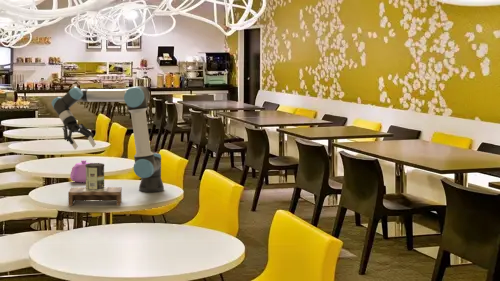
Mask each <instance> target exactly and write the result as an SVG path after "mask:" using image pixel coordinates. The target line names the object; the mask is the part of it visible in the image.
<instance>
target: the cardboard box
mask: <svg viewBox="0 0 500 281" xmlns="http://www.w3.org/2000/svg"><path fill="white" fill-rule="evenodd" d="M122 189H123V188H122V187H120V186H119V187H118V186H116V187H115V186H114V187H113V186H111V187H110V186H108V187H107V186H104V190H100V191H88V190H86V186H85V187H70V188H69V191H68V194H67V196H68V198H67V199H68V200H67V201H68V206H69V207H72V206H74V203H75V202H78V201H79V202H81V201H82V202H87V201H86V200H99V201H101V200H102V201H104V202H106V201H110V202H111V201H112V202H113V201H116V206H121V204H122V199H123V198H122V197H123V196H122V193H123V192H122ZM84 200H85V201H84ZM99 201H98V202H99ZM102 201H101V202H102Z"/></svg>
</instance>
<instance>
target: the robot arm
mask: <svg viewBox="0 0 500 281" xmlns="http://www.w3.org/2000/svg"><path fill="white" fill-rule="evenodd" d="M150 98H151V94H150V91H149V89H148V88H147V87H145V86H143V85H139V86H138V85H137V86H131V87H130V86H129V87H128V88H113V89H112V88H111V89H109V88H105V89H104V88H102V89H101V88H99V89H94V88H93V89H90V88H88V89H84V88H81V89H80V88H79V87H77V86H74V87H72V88H71V89H70V90H69V91H67V93H65V94H64V95H63V96H57V97H55V98H53V99H52V100H51V106H52V107H53V110H54V111H55V113H56V114H57V116H58V117H59V119H60V121H61V122H62V124H63V126H62V130H63V131H62V132H63V138H64V139H63V140H64V141H66V142H69V144H70V145H71V146H72V147H73V149H74V150H77V148H78V144H77V142H76V141H75V139H74V137H72V136H73V133H78V134H82V136H85V137H87V140H88V141H89V143H90V145H91V146H92V148H95V147H96V145H97V144H96V141H95V140H94V138H93V136H94V133H93V132H92V131H91V130H89V129H88V128H87V127H86V126H85V125H84V124H83V123H81V124H78V120H77V119H76V116H74V114H73V113H72V111H71V109H70V108H71V107H72V106H74V105H75V104H76V103H80V102H83V103H85V102H86V103H87V102H88V103H90V102H96V103H97V102H98V103H99V102H103V103H104V102H113V103H115V102H124V103H125V104H126V106H127V111H128V112H129V113H130V116H131V117H130V118H131V123H132V130H133V132H132V133H133V140H134V145H135V155H133V156H134V157H133V158H134V164H133V172H134V174H135V175H136V176H137V177H139V178H141V180H140V184H139V186H138V191H139V192H143V193H159V192H163V191H164V190H165V189H164V188H165V187H164V182H163V180H162V155H161V153H156V152H155V153H154V152H153V151H152V150H151V144H150V143H151V142H150V135H149V134H150V133H149V126H148V119H147V114H146V111H147V109H149V108H148V102H149V101H150V100H151V99H150Z"/></svg>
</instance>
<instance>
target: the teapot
mask: <svg viewBox="0 0 500 281" xmlns="http://www.w3.org/2000/svg"><path fill="white" fill-rule="evenodd" d="M90 163H91V162H87V160H85V159H83V160H82V159H81V161H80V162H76V163H75V164H74V165H73V166H72V168H71V171H70V175H69V176H70V179H71V180H72V181H73V182H74V183H82V182H83V183H82V184H86V166H85V165H86V164H90Z"/></svg>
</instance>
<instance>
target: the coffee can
mask: <svg viewBox="0 0 500 281" xmlns="http://www.w3.org/2000/svg"><path fill="white" fill-rule="evenodd" d="M89 163H90V164H86V165H85V166H86V183H85V187H86V190H88V191H100V190H104V187H105V163H100V162H89Z"/></svg>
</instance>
